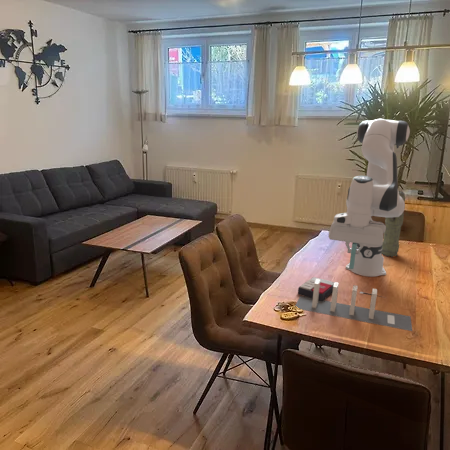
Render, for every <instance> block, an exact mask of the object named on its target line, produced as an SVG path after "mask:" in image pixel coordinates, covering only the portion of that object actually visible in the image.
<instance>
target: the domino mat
mask: <svg viewBox="0 0 450 450" xmlns="http://www.w3.org/2000/svg"><path fill="white" fill-rule="evenodd" d="M312 301H313V298H309V297H306V296H302V295H299V296H298V299H297V302H296V304H295V305H294V307H295V306H297V307H298V308H300V309H299V310H301V309H302V311H308V312H312V313H318V314H322V315H328V316H332V317H338V318H344V319H348V320H353V321H358V322H363V323H369V324H374V325H378V326H379V325H380V326H384V327H389V328H393V329H394V328H395V329H399V330H404V331H411V332H413V326H412V317H411V316H410V315H405V314H399V313H394V312H388V311H385V310H378V309H375V311H374V317H373V319H370V318H369V310H370V308H369V307H368V308H367V307H362V306H357V305H355V310H354V315H349V312H350V305H351V304H345V303H340V302H336V308H335V312H333V311H330V309H331V301H330V300H326V299H324V300H323V301H320V300H318V304H317V307H316V308H313V307H312Z"/></svg>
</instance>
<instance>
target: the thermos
mask: <svg viewBox="0 0 450 450" xmlns="http://www.w3.org/2000/svg"><path fill="white" fill-rule="evenodd" d="M398 191H399V195H400V196H401V197H402V198H403V200H404V203H405V202H406V194H405V192H404V191H400V190H398ZM405 204H406V203H405ZM404 216H405V213H404V212H403V213H402V214H401V215H400V216H399V217H391V218H387V217H385V221H384V222H385V223H384V224H385V225H386V230H385V233H383V244H382V253H381V255H382V254H383V255H382V256H384V255H385V257H389V256H391V257H390V258H394V257H393V256H396V257H398V254H399V249H400V244H399V243H400V242H399V241H400V236H401V231H402V230H401V229H402V226H403V222H404Z"/></svg>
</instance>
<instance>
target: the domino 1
mask: <svg viewBox="0 0 450 450" xmlns="http://www.w3.org/2000/svg"><path fill="white" fill-rule="evenodd" d="M320 279H321V278H320ZM320 279H316V281H315V283H314V292H313V301H312V307H313V308H316V307H317V304H318V297H319V288H320Z"/></svg>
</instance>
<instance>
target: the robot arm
mask: <svg viewBox="0 0 450 450" xmlns="http://www.w3.org/2000/svg"><path fill="white" fill-rule="evenodd" d="M410 132H411V129H410V127H409V123H408V122H407V121H405V120H393V119H385V118H377V119H376V118H375V119H373V120H368V119H367V120H362V122H360V123H359V125H358V127H357V130H356V136H357V141H359V143H361V144H362V146H361V155H362V156H363V157H364V159H365V160H366V161H368V164H367V170H366V175H356V176H354V177H353V178H352V179H351V183H350V186H349V188H348V190H347V198H346V199H345V200H346V201H345V202H346V203H345V204H346V205H345V206H346V212H342V213H336V214H335V215H334V216H333V221H332V223H331V225H330V228H329V232H328V238H329V240H331V241H339V242H345V246H346V248H347V253H348V254H351V249H352V247H350V243H357V247H356V253H355V254H356V255H355V262H354V268H353V269H349V265H350V262H349V263H348V264H346V266H345V269H346V270H349V271H351V272H353V274H355V275H360V276H362V277H378V276H386V275H387V271H386V270H385V268H384V262H385V260H384V259H385V258H384V255H382V254H381V253H382V244H383V239H384V233H385V230H386V224H385V223H383V222H382V221H376V220H373V218H372V217H373V216H374V217H378V218H381V217H382V218H386V217H387V218H391V217H399V216H400V215H401V214H402V213H404V211H405V208H406V205H405V204H406V203H404V200H403V198H402V197H401V196H400V195H399V191H400V190H399V188H398V187H399V186H398V181H399V177H398V156H397V154H396V153H395V146H396V149H399V148H400V147H401V146H403V145H404V144H405V143H407V142H408V141H407V140H408V139H409V137H410V134H411V133H410Z"/></svg>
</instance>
